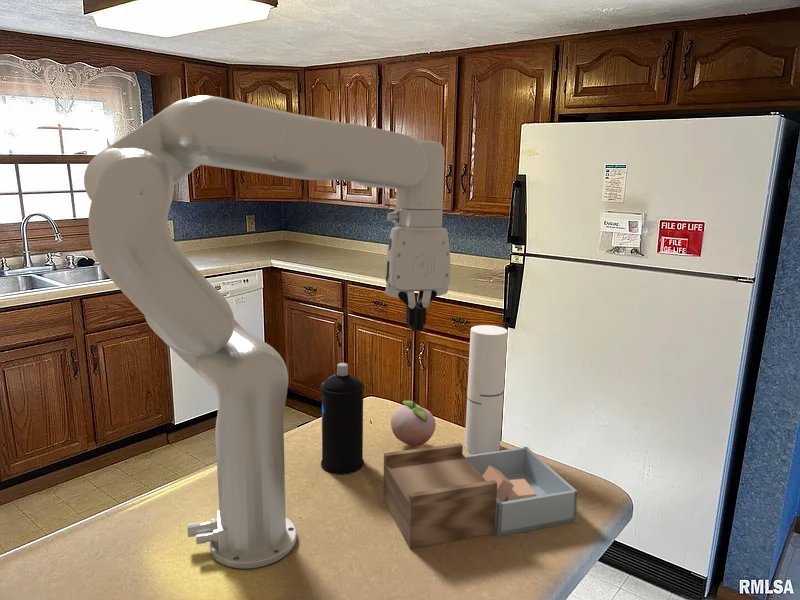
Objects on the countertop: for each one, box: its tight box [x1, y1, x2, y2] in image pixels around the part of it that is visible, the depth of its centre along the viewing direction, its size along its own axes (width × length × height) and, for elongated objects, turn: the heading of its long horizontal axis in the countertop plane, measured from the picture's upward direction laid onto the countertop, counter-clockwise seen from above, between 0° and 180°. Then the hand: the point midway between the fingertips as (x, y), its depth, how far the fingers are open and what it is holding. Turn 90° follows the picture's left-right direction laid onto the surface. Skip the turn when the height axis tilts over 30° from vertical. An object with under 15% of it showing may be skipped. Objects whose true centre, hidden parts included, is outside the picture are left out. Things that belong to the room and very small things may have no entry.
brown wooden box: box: [382, 442, 497, 550], centre depth 95 cm, size 14×14×9 cm
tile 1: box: [482, 465, 514, 502], centre depth 98 cm, size 5×5×2 cm
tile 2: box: [504, 479, 536, 502], centre depth 99 cm, size 5×5×2 cm
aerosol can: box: [319, 362, 366, 475], centre depth 110 cm, size 8×8×20 cm
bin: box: [464, 446, 579, 538], centre depth 100 cm, size 14×16×6 cm
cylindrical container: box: [464, 324, 508, 455], centre depth 118 cm, size 7×7×25 cm
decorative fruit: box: [390, 400, 437, 448], centre depth 119 cm, size 9×8×10 cm
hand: (415, 329), depth 99 cm, fingers closed
